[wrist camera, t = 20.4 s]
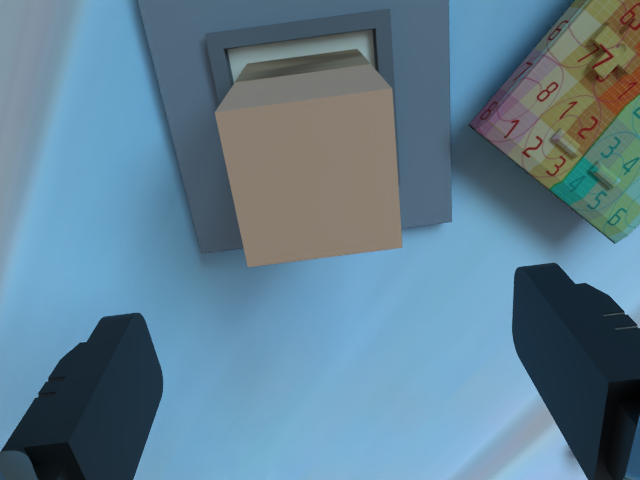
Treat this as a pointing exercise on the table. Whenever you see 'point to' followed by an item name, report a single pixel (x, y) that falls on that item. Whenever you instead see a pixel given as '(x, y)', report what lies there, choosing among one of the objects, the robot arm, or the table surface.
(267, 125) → the beige cube
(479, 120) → the puzzle game
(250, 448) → the table surface
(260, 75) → the walnut block
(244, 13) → the slate gray baseplate
